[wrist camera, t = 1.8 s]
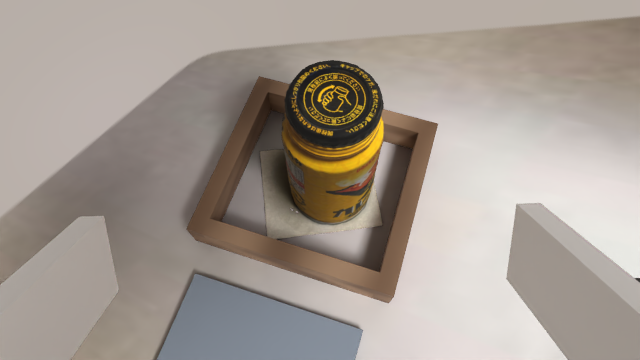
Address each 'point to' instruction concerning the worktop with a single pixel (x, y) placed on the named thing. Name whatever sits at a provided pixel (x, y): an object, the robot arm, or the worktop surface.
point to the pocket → (289, 256)
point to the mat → (252, 328)
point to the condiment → (325, 154)
